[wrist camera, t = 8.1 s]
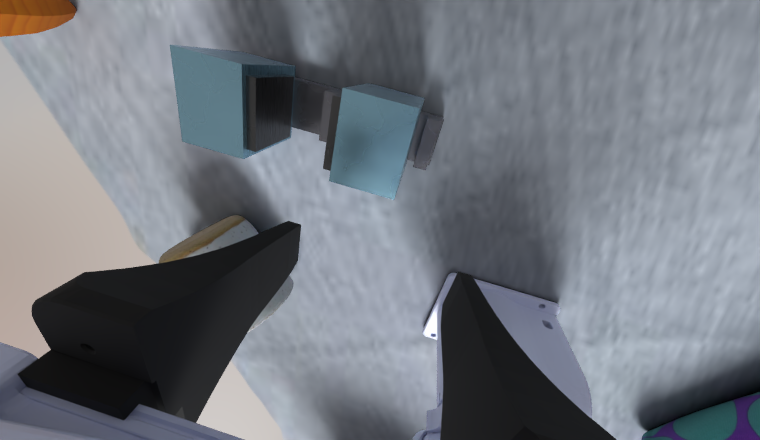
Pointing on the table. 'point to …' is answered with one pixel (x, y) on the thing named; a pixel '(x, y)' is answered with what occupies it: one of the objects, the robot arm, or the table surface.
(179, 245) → the ceramic mug
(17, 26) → the carrot
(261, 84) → the rail
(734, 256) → the table surface
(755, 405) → the pencil case
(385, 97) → the teal brushed-finish brick
